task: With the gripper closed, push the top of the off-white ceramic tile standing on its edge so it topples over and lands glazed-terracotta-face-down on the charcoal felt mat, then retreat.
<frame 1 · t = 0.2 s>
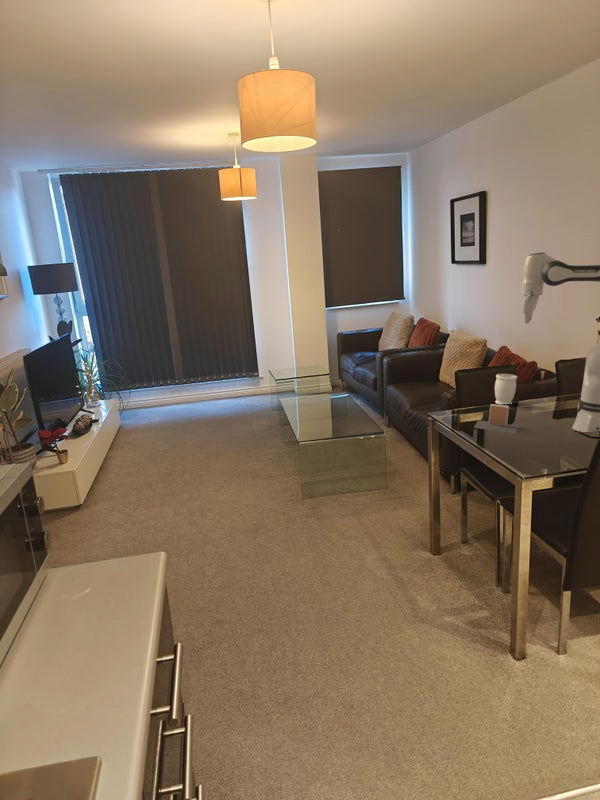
hand: (527, 321, 239), 47 cm above the table, fingers open, 8 cm apart
mat: (496, 427, 243), on the table
tile: (497, 424, 247), resting on mat
jar: (503, 403, 280), on the table
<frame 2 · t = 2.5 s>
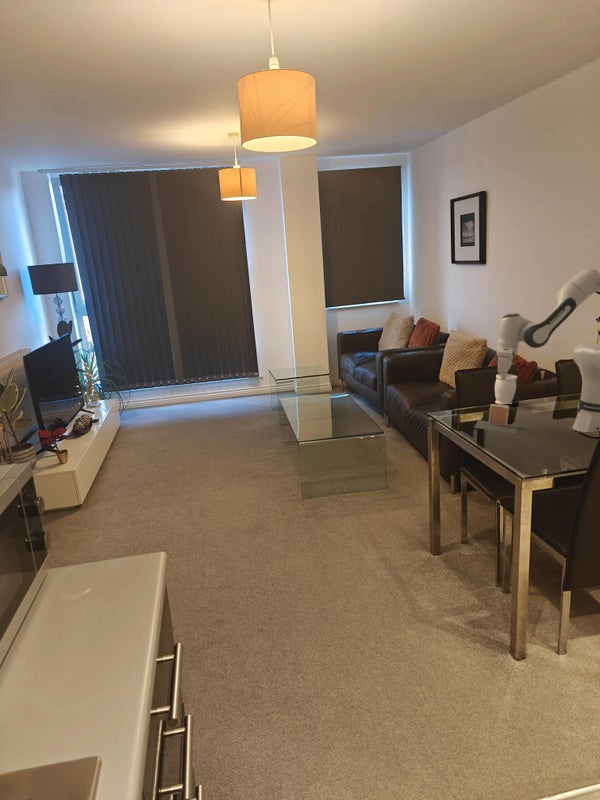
hand: (503, 379, 246), 21 cm above the table, fingers closed
nothing on the table moved.
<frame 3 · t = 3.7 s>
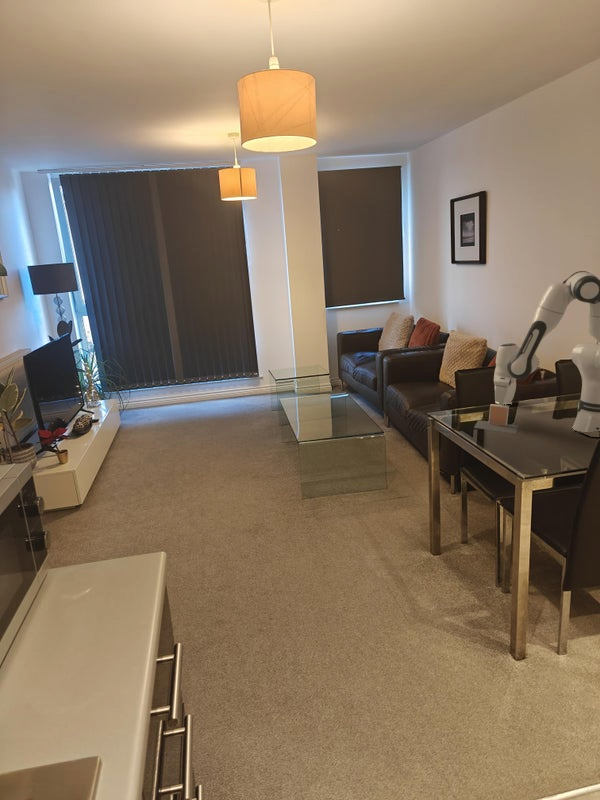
hand: (500, 406, 250), 7 cm above the table, fingers closed
nothing on the table moved.
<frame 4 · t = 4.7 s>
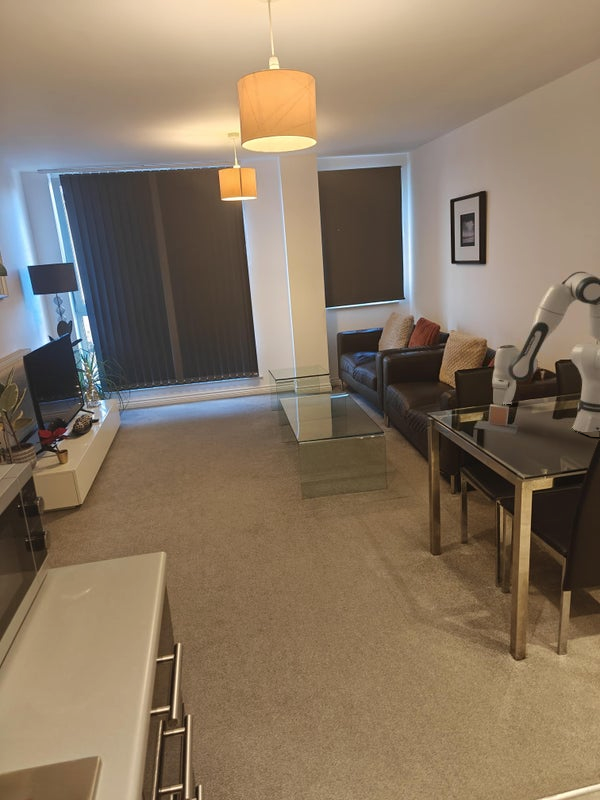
hand: (499, 409, 246), 7 cm above the table, fingers closed
nothing on the table moved.
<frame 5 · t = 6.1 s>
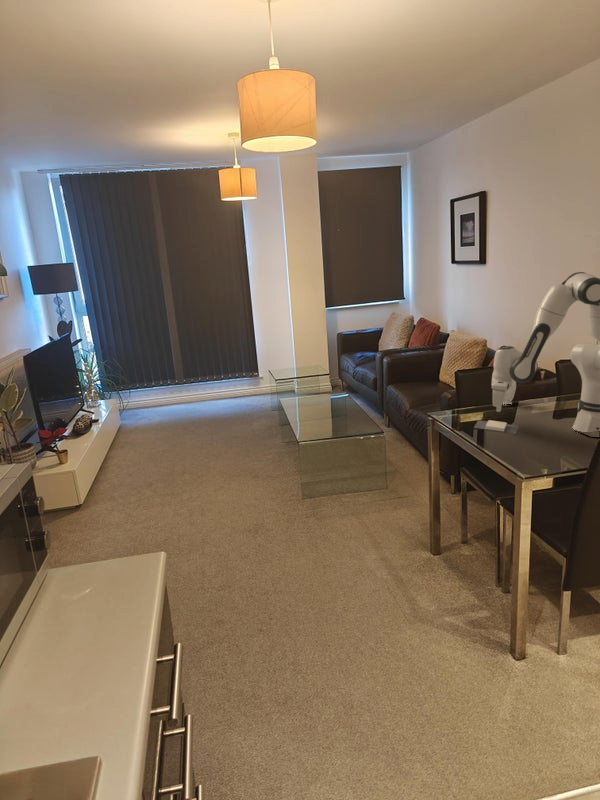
hand: (498, 411, 244), 7 cm above the table, fingers closed
tile: (497, 422, 246), point 1 cm above the table, tilted 90°, touching mat
everything else where it was.
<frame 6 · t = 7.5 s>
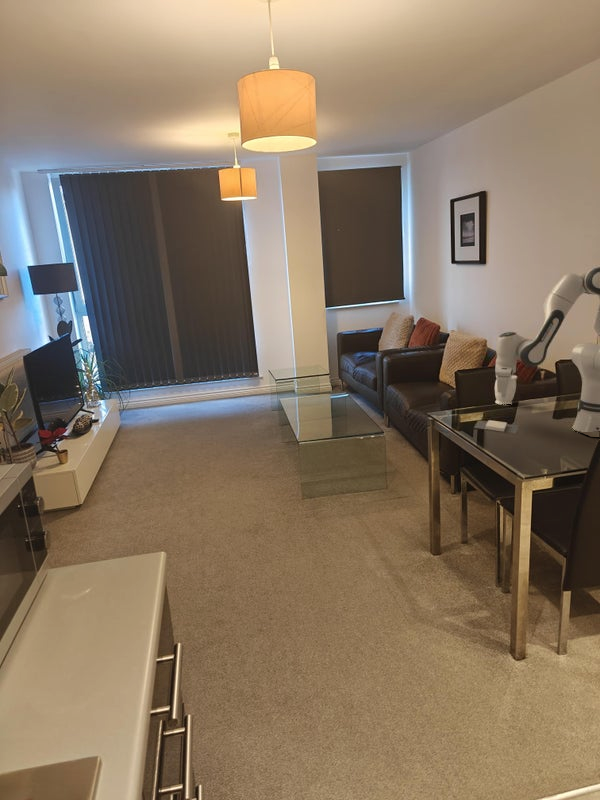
hand: (503, 396, 247), 12 cm above the table, fingers closed
nothing on the table moved.
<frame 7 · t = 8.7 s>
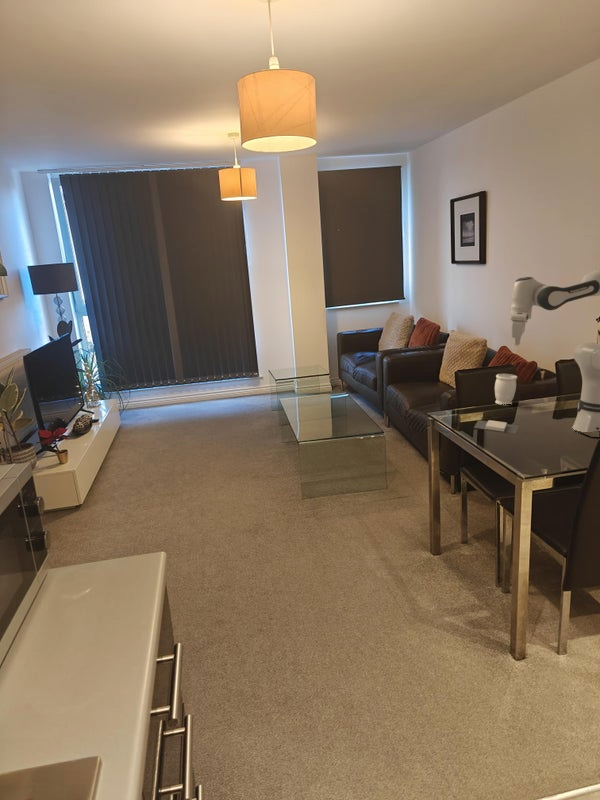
hand: (517, 344, 241), 37 cm above the table, fingers closed
nothing on the table moved.
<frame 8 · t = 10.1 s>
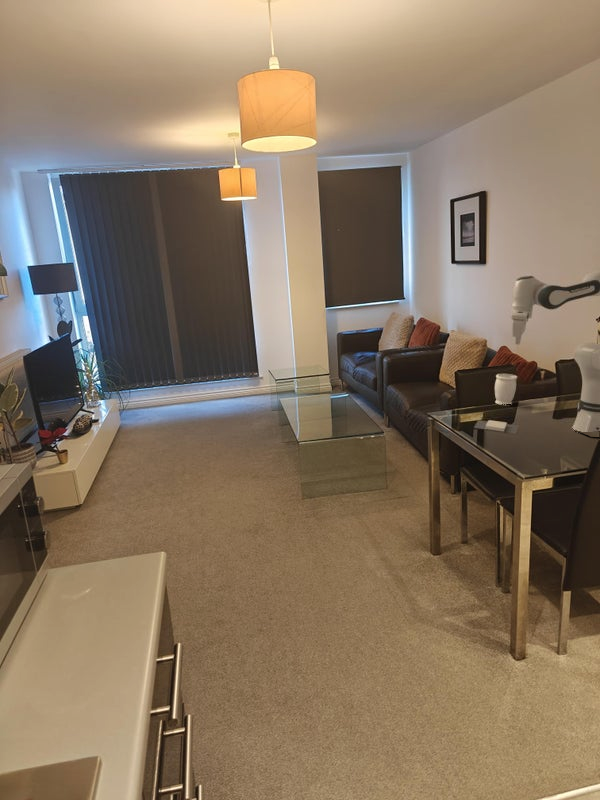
hand: (517, 343, 241), 37 cm above the table, fingers closed
nothing on the table moved.
at the end: tile tilted 90°; tile inside the target area (4.6 cm from its centre), point 1.3 cm above the table; tile touching mat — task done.
